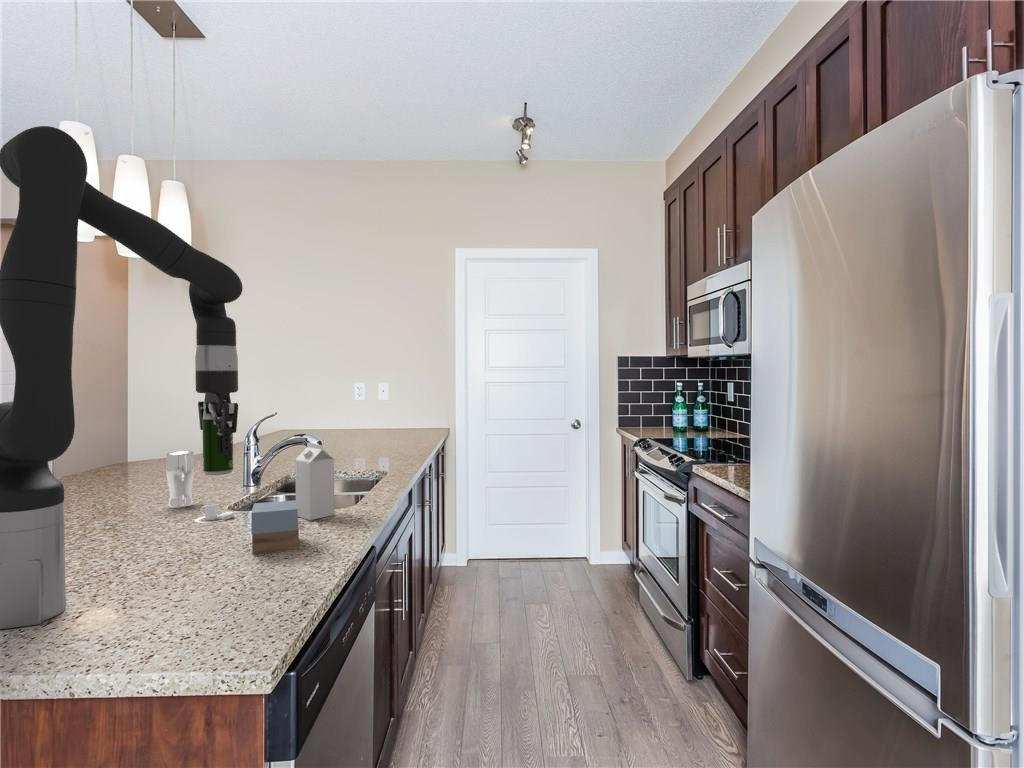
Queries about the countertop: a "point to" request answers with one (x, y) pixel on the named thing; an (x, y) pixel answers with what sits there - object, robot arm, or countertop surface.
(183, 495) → the beer glass
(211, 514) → the teacup and saucer
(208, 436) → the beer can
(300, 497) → the milk carton
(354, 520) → the countertop surface
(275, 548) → the walnut block
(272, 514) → the slate-blue block
